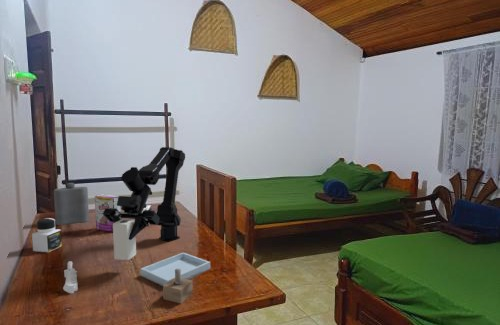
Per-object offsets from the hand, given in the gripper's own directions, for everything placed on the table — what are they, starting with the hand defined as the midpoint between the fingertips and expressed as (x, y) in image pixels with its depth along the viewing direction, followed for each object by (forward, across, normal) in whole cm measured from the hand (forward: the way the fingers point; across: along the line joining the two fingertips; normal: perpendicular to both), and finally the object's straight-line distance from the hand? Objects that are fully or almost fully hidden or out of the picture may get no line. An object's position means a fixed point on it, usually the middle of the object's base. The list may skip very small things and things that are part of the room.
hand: (122, 238), depth 110 cm
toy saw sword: (+14, -14, +4) cm, 20 cm away
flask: (-25, -58, +43) cm, 76 cm away
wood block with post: (+16, +24, +1) cm, 29 cm away
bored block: (+4, 0, +6) cm, 7 cm away
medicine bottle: (-1, -42, +18) cm, 46 cm away
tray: (+6, +17, +11) cm, 21 cm away
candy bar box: (-20, -33, +37) cm, 54 cm away
